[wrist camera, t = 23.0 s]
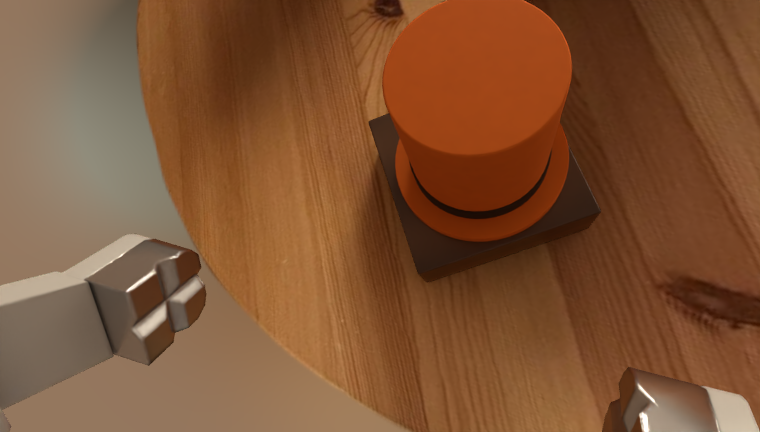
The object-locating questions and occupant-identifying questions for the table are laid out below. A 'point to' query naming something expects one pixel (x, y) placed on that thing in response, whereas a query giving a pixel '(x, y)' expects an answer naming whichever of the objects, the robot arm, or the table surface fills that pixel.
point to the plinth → (453, 255)
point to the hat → (479, 116)
